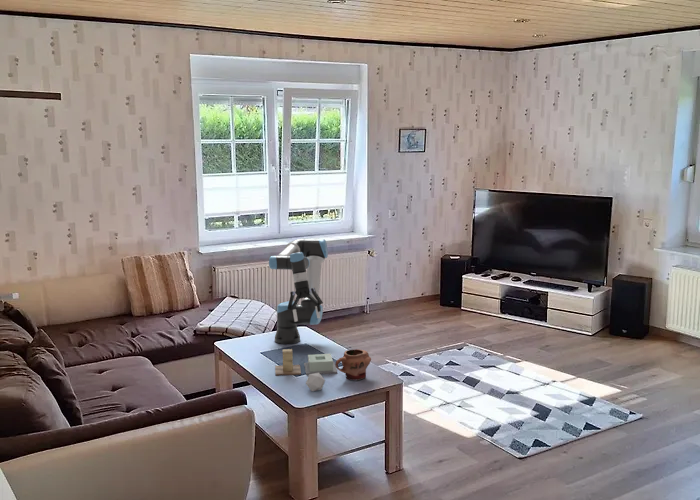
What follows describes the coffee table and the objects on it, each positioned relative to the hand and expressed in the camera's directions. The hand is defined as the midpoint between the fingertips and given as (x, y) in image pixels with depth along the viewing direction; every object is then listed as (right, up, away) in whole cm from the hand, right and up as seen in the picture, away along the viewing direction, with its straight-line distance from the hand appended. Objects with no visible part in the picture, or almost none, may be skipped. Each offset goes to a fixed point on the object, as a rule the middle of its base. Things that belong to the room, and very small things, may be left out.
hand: (307, 319), depth 352 cm
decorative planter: (+25, -27, -25) cm, 44 cm away
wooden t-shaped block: (-9, -25, -13) cm, 30 cm away
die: (+6, -30, -39) cm, 49 cm away
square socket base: (+8, -25, -11) cm, 28 cm away
